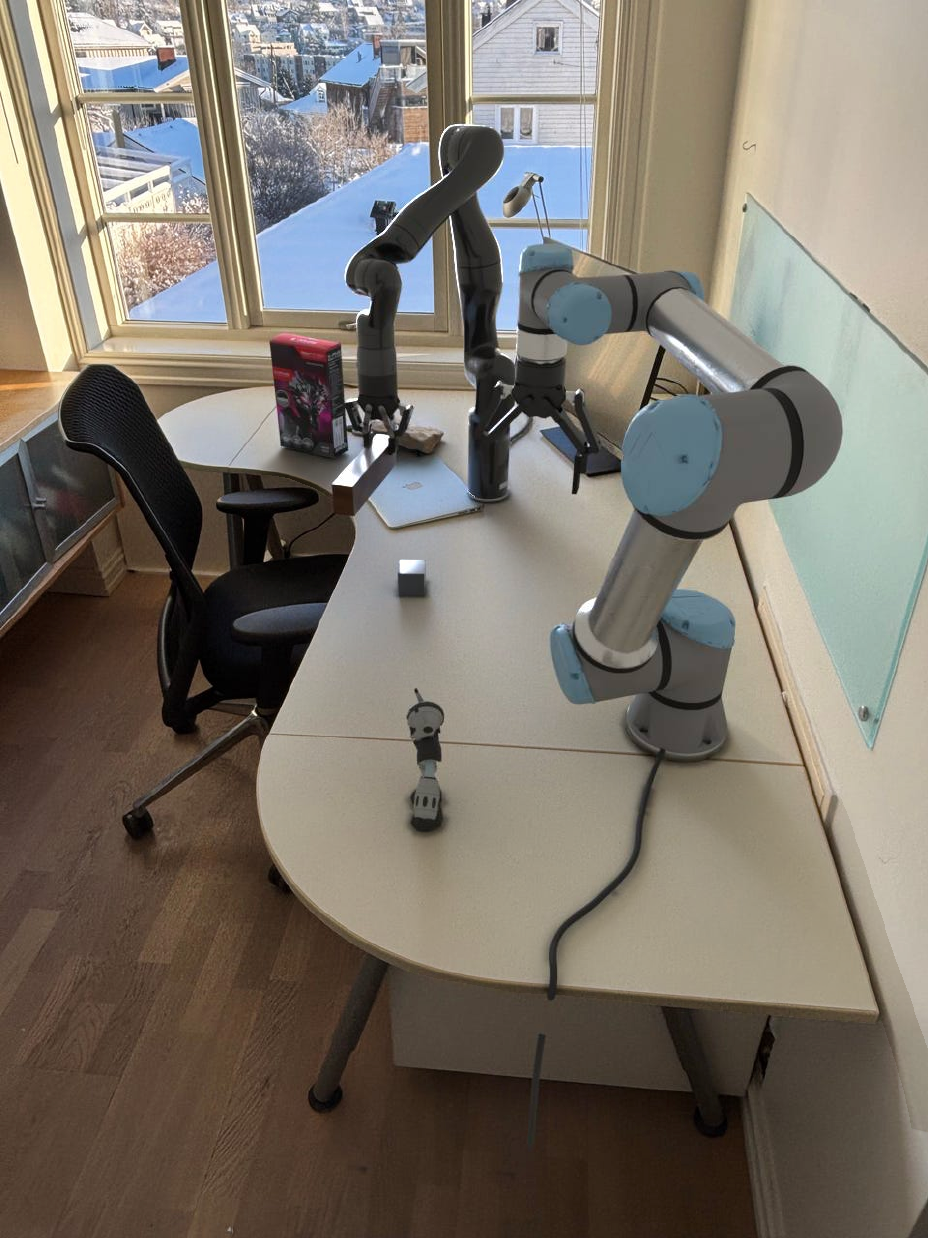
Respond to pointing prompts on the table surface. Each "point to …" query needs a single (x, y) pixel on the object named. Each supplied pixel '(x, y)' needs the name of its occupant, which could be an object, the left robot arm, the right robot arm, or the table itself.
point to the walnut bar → (362, 476)
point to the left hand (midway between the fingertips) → (380, 452)
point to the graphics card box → (309, 394)
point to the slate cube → (411, 577)
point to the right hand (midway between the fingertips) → (533, 485)
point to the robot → (426, 762)
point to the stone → (412, 436)
